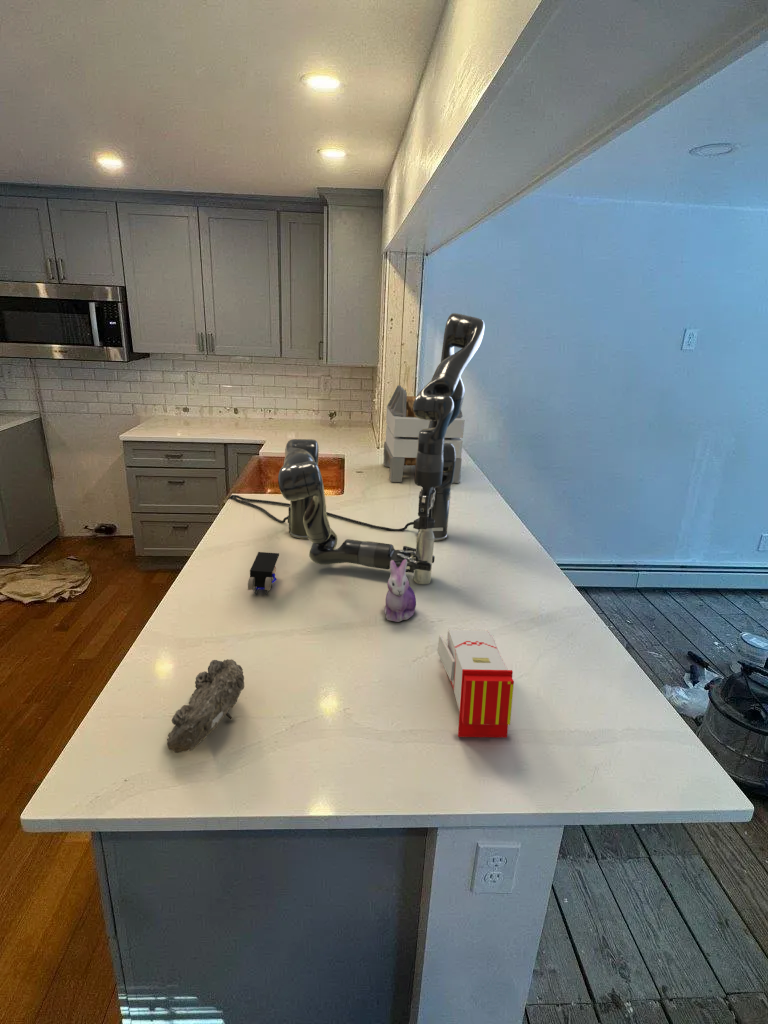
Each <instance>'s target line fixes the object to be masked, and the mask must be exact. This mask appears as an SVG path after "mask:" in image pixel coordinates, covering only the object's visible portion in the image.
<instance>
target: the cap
mask: <svg viewBox="0 0 768 1024" xmlns="http://www.w3.org/2000/svg"><path fill="white" fill-rule="evenodd" d="M418 518H419V517H418ZM419 520H420V518H419ZM434 526H435V519H433V518H431V517H428V524H427V529H430V528H433V527H434Z"/></svg>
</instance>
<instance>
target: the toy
mask: <svg viewBox="0 0 768 1024" xmlns="http://www.w3.org/2000/svg"><path fill="white" fill-rule="evenodd" d="M446 640H447V643H446V641H445V639H444V636H443V635H442V634H439V637H438V646H437V656H438V657H439V659H440V661H441V663H442V666H443V668H444V670H445V672H446V674H447V677H448V679H449V681H450V684H451V687H452V690H453V693H454V697H455V701H456V705H457V708H458V711H459V714H458V715H459V716H458V730H457V731H458V732H457V737H458V738H508V731H509V726H510V725H511V717H512V707H513V697H514V696H513V695H514V684H515V680H514V679H513V673H514V671H513V670H512V669H508V667H507V665H506V662H505V661H504V659H503V658H502V655H501V653H500V651H499V649H498V647H497V643H496V639H495V637H494V635H493V634H491V632H490V631H489V629H467V628H466V629H465V628H463V629H461V628H460V629H459V628H448V630H447V639H446Z"/></svg>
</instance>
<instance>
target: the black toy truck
mask: <svg viewBox="0 0 768 1024" xmlns="http://www.w3.org/2000/svg"><path fill="white" fill-rule="evenodd" d="M279 556H280V553H277V552H265V551H258V552H257V554H256V556H255V558H254V561H253V562H252V565H251V568H250V569H249V578H248V580H247V590H249V591H253V594H254V595H257V594H258V592H259V590H264V591H265V592H264V595H265V596H266V595H268V593H269V591H271V589H272V588H273V584H274V583H275V582H276V581H277V577H276V573H277V567H276V565H277V562H278V559H279Z"/></svg>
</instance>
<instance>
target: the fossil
mask: <svg viewBox="0 0 768 1024" xmlns="http://www.w3.org/2000/svg"><path fill="white" fill-rule="evenodd" d="M243 670H244V669H243V667H242V665H240V664H237V662H236V661H235V660H234V659H232V658H231V659H227V658H226V659H224V660H223V661H222V660H217V659H212V660H211V661H210V663H209V665H208V666H207V671H201V672H199V673H198V674H197V675H196V676H195V680H194V684H195V685H194V687H195V689H194V690H193V693H192V694H191V697H190V698H189V700H188V704H184V705H182V706H181V707H180V709H177V710H176V711H175V713H174V715H173V716H172V718H171V723H172V724H173V727H172V730H171V731H170V732H168V734H167V738H166V741H167V742H166V745H167V749H168V750H169V751H173V752H174V753H176V754H178V753H182V752H188V751H189V752H192V751H193V750H195V748H196V747H197V746H199V744H200V743H201V742H203V741H204V740H205V739H206V738H207V737H208V736H209V735H210V734H211V733H212V732H214V730H215V729H217V727H218V726H219V724H220V722H221V721H222V720H223V719H224V718H225V716H226V717H227V719H229V720H233V717H232V715H230V714H229V710H230V709H231V708H234V706H235V704H236V703H237V702H238V699H239V697H240V695H241V693H242V691H243V690H245V689H244V688H245V675H244V671H243Z"/></svg>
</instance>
